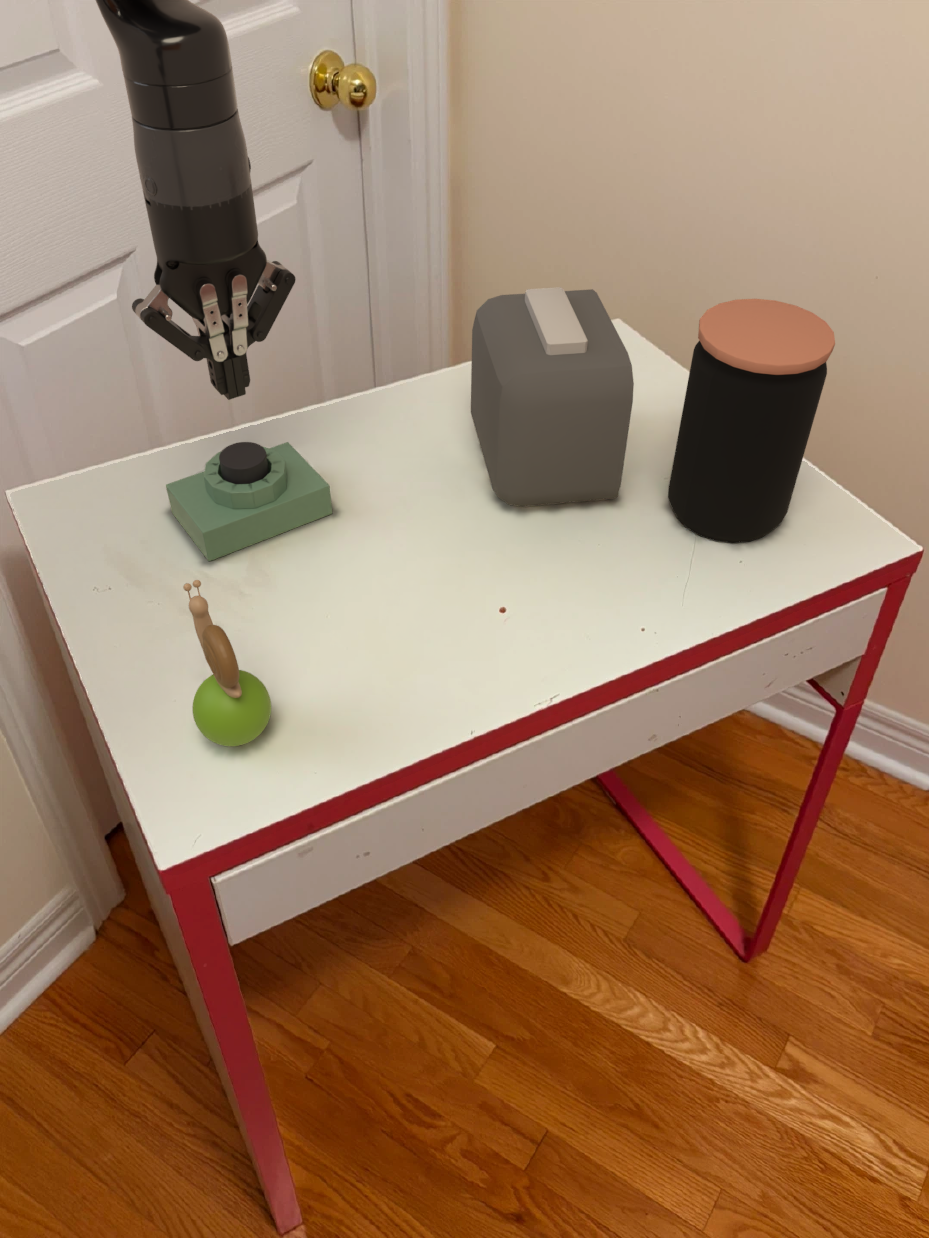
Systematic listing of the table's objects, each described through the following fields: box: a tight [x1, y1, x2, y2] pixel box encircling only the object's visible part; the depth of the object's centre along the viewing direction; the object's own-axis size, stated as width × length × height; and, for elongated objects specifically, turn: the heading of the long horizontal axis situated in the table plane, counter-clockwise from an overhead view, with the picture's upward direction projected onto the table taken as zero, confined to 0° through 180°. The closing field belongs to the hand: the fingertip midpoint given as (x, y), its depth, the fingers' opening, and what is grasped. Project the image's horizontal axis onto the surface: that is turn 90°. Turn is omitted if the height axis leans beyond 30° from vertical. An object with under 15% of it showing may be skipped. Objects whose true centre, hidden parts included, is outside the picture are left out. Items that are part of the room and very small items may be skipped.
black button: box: [219, 441, 269, 484], centre depth 90 cm, size 4×4×2 cm
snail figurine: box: [183, 579, 272, 747], centre depth 72 cm, size 5×6×12 cm
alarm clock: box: [470, 286, 635, 508], centre depth 95 cm, size 16×11×16 cm
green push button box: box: [165, 441, 333, 562], centre depth 92 cm, size 12×8×5 cm, turn 124°
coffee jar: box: [667, 298, 836, 544], centre depth 89 cm, size 11×11×18 cm
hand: (232, 393), depth 86 cm, fingers closed
